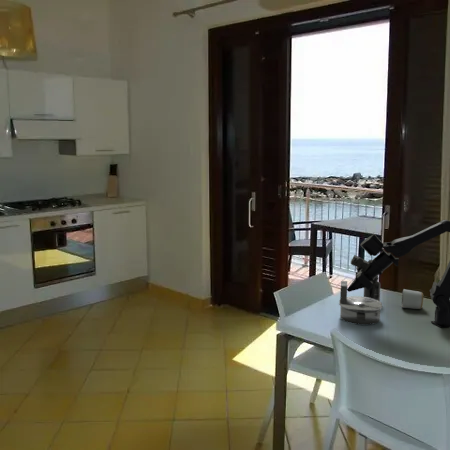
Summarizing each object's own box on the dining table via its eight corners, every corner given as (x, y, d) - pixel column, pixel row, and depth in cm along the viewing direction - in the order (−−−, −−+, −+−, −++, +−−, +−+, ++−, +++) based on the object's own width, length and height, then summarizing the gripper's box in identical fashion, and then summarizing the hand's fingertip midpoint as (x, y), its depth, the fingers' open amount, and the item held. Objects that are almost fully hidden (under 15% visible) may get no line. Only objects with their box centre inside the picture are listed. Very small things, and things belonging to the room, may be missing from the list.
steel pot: (378, 310, 211) (378, 298, 210) (381, 330, 187) (382, 317, 186) (340, 307, 214) (341, 295, 213) (339, 327, 190) (340, 314, 189)
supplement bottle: (377, 300, 224) (379, 273, 223) (381, 305, 218) (382, 277, 216) (361, 299, 225) (363, 273, 223) (364, 304, 218) (365, 277, 217)
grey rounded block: (423, 311, 209) (424, 293, 208) (401, 309, 211) (402, 291, 210) (420, 304, 219) (421, 287, 218) (400, 302, 222) (401, 285, 221)
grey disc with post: (380, 300, 205) (381, 280, 204) (383, 313, 190) (384, 291, 189) (339, 297, 209) (340, 278, 208) (338, 309, 194) (339, 288, 192)
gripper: (363, 244, 205) (334, 270, 209) (364, 253, 187) (332, 281, 191) (382, 265, 205) (353, 290, 209) (386, 276, 187) (353, 303, 191)
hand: (347, 290), depth 200 cm, fingers closed
